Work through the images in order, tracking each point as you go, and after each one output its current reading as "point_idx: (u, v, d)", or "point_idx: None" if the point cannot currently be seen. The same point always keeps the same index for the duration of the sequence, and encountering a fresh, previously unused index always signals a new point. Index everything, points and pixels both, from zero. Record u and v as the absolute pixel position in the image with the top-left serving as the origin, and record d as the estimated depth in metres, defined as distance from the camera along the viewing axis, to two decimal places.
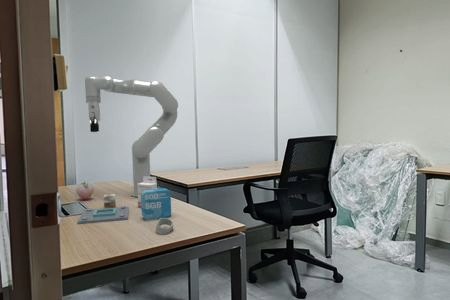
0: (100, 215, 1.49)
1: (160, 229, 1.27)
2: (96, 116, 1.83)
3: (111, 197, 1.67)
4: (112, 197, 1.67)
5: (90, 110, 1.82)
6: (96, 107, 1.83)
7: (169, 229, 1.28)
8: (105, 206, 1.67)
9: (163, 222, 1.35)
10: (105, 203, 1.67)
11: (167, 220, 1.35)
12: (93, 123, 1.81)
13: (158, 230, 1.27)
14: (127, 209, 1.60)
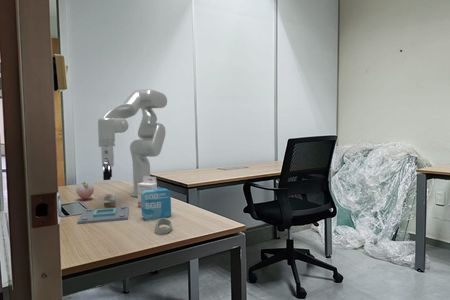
0: (100, 215, 1.49)
1: (159, 229, 1.26)
2: (110, 162, 1.63)
3: (111, 197, 1.67)
4: (112, 197, 1.67)
5: (103, 156, 1.62)
6: (110, 152, 1.63)
7: (168, 229, 1.28)
8: (105, 206, 1.67)
9: (162, 222, 1.35)
10: (105, 203, 1.67)
11: (166, 220, 1.35)
12: (107, 170, 1.62)
13: (157, 230, 1.27)
14: (127, 209, 1.60)
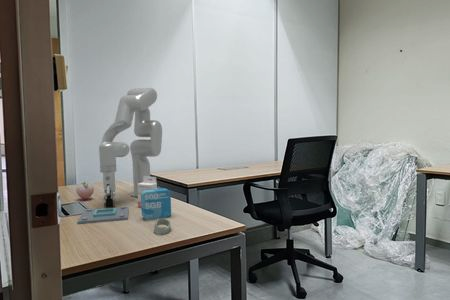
0: (100, 215, 1.49)
1: (159, 229, 1.26)
2: (112, 188, 1.64)
3: None
4: (112, 197, 1.67)
5: (105, 182, 1.64)
6: (112, 178, 1.64)
7: (167, 229, 1.28)
8: (105, 206, 1.67)
9: (160, 222, 1.34)
10: (105, 203, 1.67)
11: (164, 220, 1.35)
12: (109, 198, 1.65)
13: (157, 230, 1.27)
14: (127, 209, 1.60)
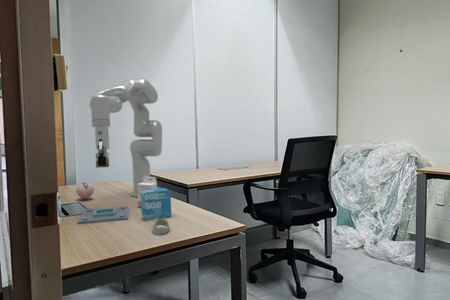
0: (100, 215, 1.49)
1: (158, 229, 1.26)
2: (105, 144, 1.48)
3: None
4: (105, 155, 1.51)
5: (97, 137, 1.47)
6: (105, 133, 1.48)
7: (166, 229, 1.28)
8: (97, 164, 1.50)
9: (158, 223, 1.34)
10: (97, 161, 1.50)
11: (162, 220, 1.35)
12: (102, 156, 1.49)
13: (156, 231, 1.26)
14: (127, 209, 1.60)
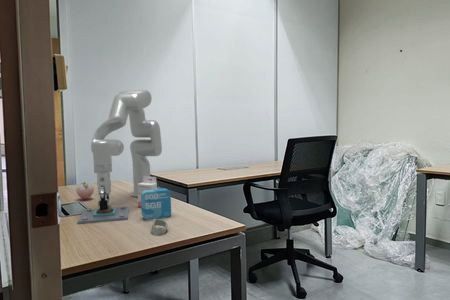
0: (100, 215, 1.49)
1: (157, 230, 1.26)
2: (107, 190, 1.49)
3: None
4: (107, 202, 1.52)
5: (99, 183, 1.48)
6: (107, 179, 1.49)
7: (165, 229, 1.28)
8: (99, 212, 1.51)
9: (156, 223, 1.34)
10: (99, 209, 1.51)
11: (160, 221, 1.34)
12: (103, 200, 1.47)
13: (154, 231, 1.26)
14: (127, 209, 1.60)
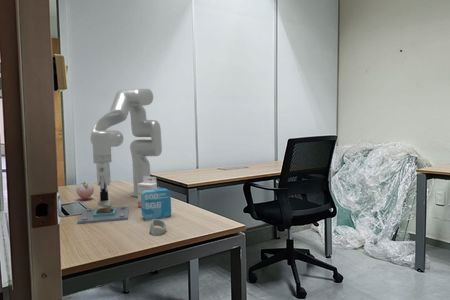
0: (100, 215, 1.49)
1: (156, 230, 1.26)
2: (106, 181, 1.48)
3: (106, 202, 1.51)
4: (107, 202, 1.52)
5: (99, 174, 1.47)
6: (106, 169, 1.48)
7: (164, 229, 1.28)
8: (99, 212, 1.51)
9: (154, 223, 1.33)
10: (99, 209, 1.51)
11: (158, 221, 1.34)
12: None
13: (153, 231, 1.26)
14: (127, 209, 1.60)
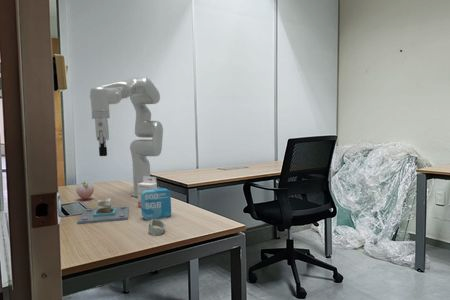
0: (100, 215, 1.49)
1: (155, 230, 1.25)
2: (105, 135, 1.52)
3: (106, 202, 1.51)
4: (107, 202, 1.52)
5: (98, 128, 1.51)
6: (105, 124, 1.51)
7: (163, 229, 1.28)
8: (99, 212, 1.51)
9: (153, 223, 1.33)
10: (99, 209, 1.51)
11: (156, 221, 1.34)
12: (103, 147, 1.55)
13: (153, 231, 1.26)
14: (127, 209, 1.60)
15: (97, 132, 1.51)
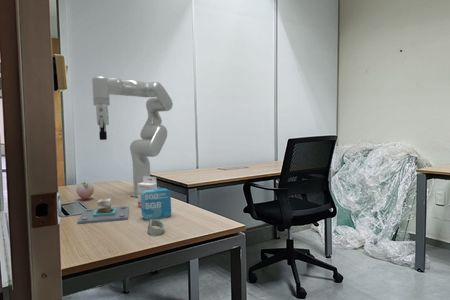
0: (100, 215, 1.49)
1: (155, 230, 1.25)
2: (105, 120, 1.65)
3: (106, 202, 1.51)
4: (107, 202, 1.52)
5: (98, 113, 1.64)
6: (105, 110, 1.65)
7: (162, 229, 1.28)
8: (99, 212, 1.51)
9: (151, 224, 1.33)
10: (99, 209, 1.51)
11: (155, 221, 1.34)
12: (103, 131, 1.69)
13: (152, 231, 1.25)
14: (127, 209, 1.60)
15: (98, 117, 1.64)
